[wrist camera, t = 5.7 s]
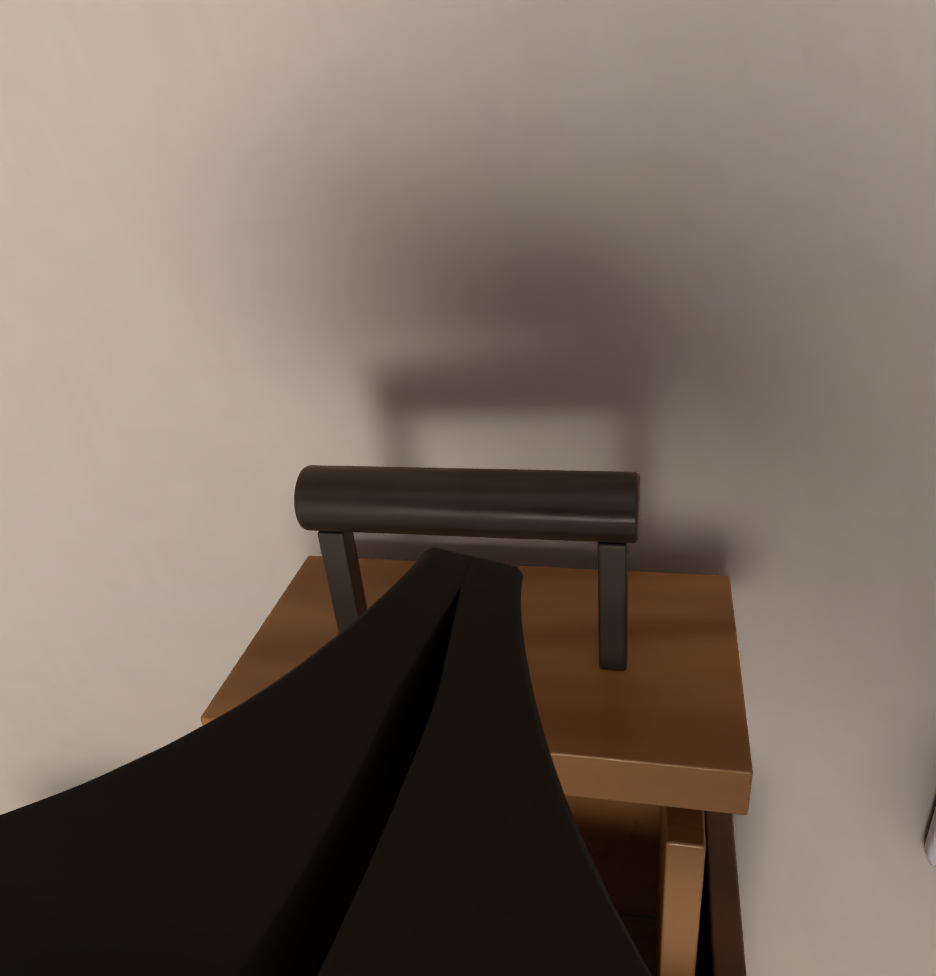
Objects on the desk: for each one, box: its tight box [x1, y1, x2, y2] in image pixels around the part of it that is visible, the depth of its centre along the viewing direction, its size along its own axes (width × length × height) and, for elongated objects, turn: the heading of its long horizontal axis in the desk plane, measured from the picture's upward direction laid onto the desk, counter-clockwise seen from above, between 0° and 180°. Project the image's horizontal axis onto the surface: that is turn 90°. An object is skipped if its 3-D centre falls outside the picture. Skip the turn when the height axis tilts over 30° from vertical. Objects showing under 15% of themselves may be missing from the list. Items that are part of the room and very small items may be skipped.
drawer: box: [201, 465, 753, 976], centre depth 21 cm, size 18×11×6 cm, turn 5°
